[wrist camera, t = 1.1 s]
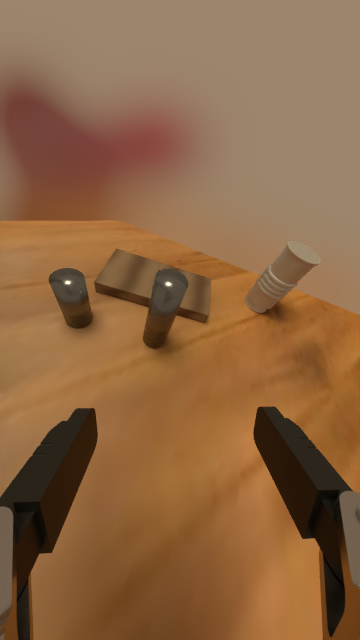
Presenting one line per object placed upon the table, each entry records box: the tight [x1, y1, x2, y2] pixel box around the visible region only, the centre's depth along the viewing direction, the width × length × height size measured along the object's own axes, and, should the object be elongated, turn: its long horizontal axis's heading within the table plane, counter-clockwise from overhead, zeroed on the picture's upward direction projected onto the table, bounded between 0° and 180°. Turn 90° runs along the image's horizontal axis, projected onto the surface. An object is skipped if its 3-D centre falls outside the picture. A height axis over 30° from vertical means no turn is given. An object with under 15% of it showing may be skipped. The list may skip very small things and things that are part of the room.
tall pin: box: [143, 269, 188, 348], centre depth 27 cm, size 4×4×14 cm
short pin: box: [49, 268, 93, 328], centre depth 27 cm, size 4×4×9 cm
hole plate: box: [94, 249, 211, 322], centre depth 38 cm, size 22×11×2 cm, turn 81°
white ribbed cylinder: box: [245, 241, 321, 313], centre depth 39 cm, size 7×7×15 cm
